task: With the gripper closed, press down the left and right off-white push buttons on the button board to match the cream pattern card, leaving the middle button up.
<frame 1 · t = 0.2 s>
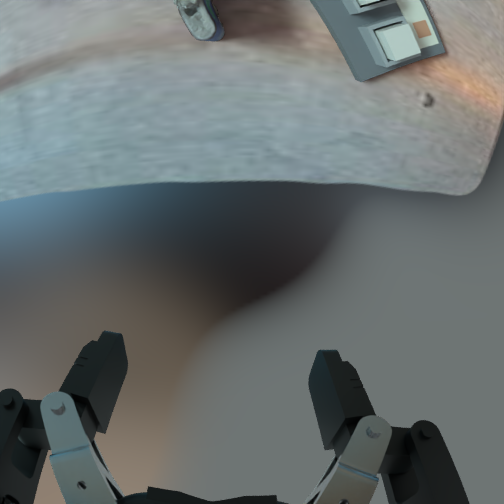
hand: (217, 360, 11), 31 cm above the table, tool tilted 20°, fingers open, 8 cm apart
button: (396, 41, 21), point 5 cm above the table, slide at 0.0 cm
flask: (205, 9, 23), on the table
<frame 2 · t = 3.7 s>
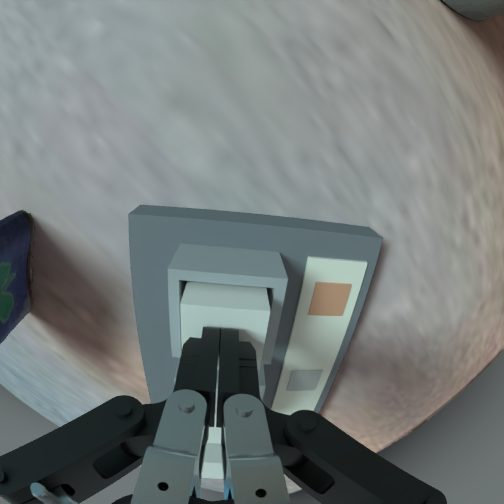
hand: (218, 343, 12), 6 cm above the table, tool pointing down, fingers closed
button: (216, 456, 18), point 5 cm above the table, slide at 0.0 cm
flask: (23, 262, 17), on the table
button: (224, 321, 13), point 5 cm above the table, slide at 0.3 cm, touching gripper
button middle: (218, 411, 16), point 5 cm above the table, slide at 0.0 cm
board: (241, 358, 20), on the table
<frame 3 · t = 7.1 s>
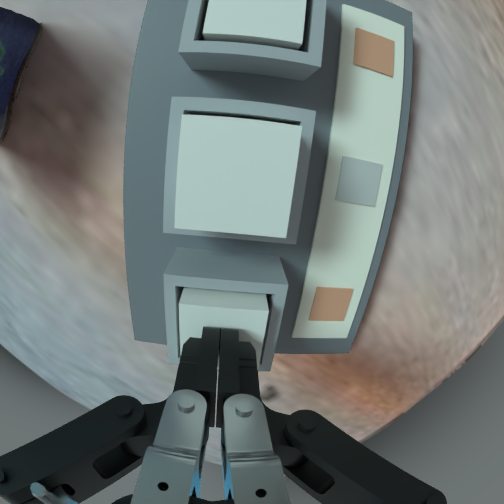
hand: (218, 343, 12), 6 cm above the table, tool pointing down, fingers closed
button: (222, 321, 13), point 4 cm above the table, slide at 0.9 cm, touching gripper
flask: (13, 80, 11), on the table
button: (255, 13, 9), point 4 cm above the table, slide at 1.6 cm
button middle: (236, 171, 10), point 5 cm above the table, slide at 0.0 cm
board: (265, 163, 15), on the table
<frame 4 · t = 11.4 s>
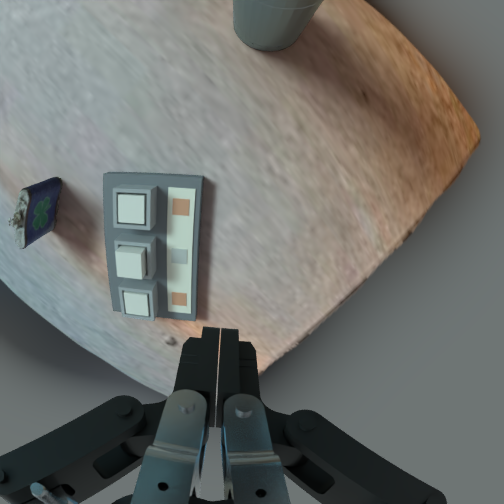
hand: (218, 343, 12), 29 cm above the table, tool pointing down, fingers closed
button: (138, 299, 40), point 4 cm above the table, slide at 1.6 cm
flask: (53, 203, 37), on the table
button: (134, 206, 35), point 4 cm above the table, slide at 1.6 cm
button middle: (132, 260, 36), point 5 cm above the table, slide at 0.0 cm
board: (152, 247, 41), on the table
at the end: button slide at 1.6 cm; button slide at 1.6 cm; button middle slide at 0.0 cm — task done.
